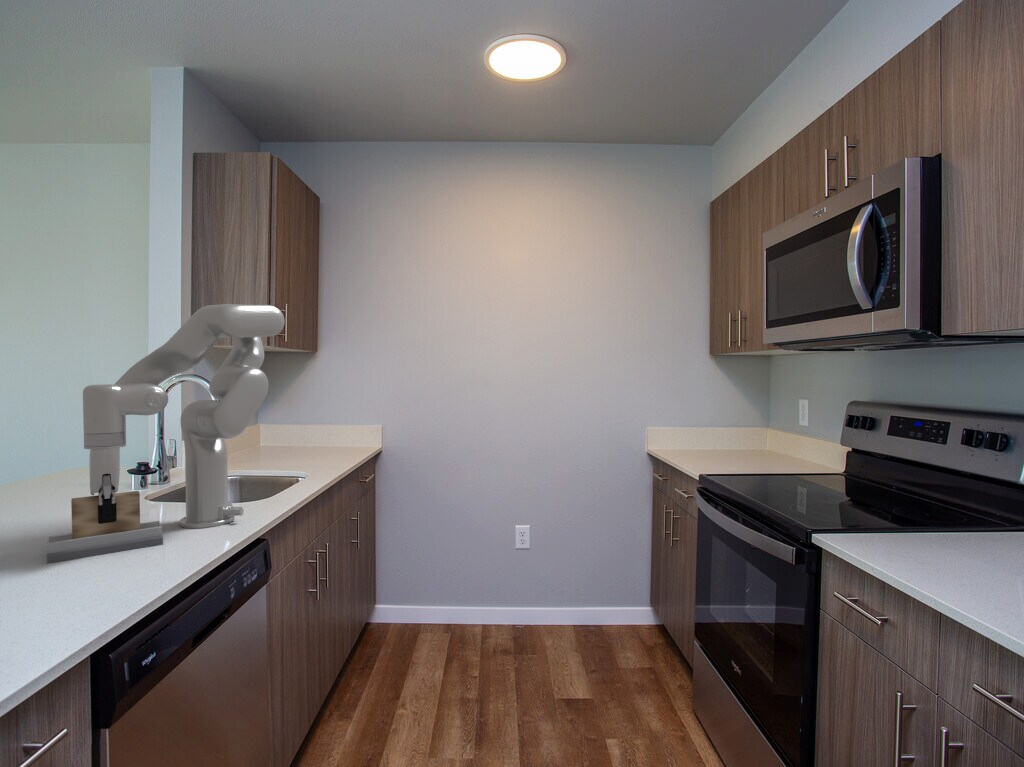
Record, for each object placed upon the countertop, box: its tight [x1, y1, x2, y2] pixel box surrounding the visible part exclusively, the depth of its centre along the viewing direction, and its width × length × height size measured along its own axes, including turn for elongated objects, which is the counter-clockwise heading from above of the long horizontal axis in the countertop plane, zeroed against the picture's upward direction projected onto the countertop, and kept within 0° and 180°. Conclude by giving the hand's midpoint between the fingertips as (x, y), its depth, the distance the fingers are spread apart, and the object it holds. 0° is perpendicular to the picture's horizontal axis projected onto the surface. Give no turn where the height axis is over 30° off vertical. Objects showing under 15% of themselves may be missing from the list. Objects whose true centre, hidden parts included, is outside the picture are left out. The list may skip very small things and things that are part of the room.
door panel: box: [70, 490, 141, 539], centre depth 122 cm, size 12×3×10 cm, turn 128°
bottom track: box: [46, 520, 164, 564], centre depth 122 cm, size 20×10×4 cm, turn 128°
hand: (106, 517), depth 122 cm, fingers open, 9 cm apart
